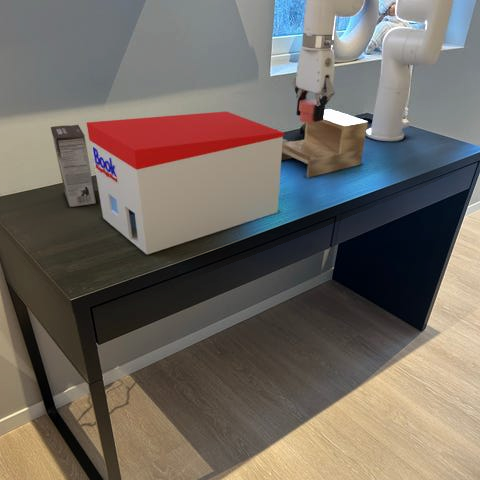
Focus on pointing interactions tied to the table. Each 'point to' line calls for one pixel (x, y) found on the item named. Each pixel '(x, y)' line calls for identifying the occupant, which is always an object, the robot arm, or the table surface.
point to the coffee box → (74, 164)
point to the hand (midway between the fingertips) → (309, 117)
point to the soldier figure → (284, 140)
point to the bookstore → (184, 175)
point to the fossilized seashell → (303, 129)
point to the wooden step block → (329, 144)
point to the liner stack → (307, 110)
